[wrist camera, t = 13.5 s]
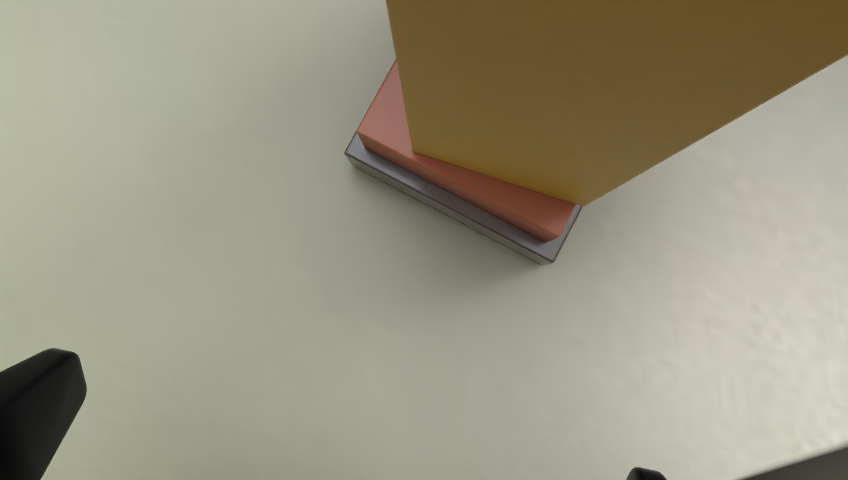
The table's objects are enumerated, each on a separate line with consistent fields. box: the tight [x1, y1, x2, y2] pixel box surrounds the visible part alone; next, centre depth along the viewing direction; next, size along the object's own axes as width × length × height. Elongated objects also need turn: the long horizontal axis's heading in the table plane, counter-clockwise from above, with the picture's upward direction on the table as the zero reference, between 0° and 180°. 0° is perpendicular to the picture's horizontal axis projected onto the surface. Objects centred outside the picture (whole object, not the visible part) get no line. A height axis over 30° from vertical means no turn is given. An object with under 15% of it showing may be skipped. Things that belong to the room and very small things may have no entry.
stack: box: [345, 60, 583, 265], centre depth 20 cm, size 8×8×4 cm
